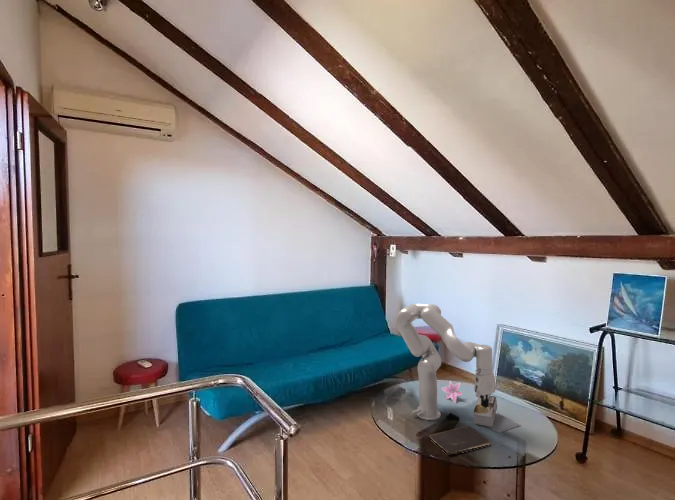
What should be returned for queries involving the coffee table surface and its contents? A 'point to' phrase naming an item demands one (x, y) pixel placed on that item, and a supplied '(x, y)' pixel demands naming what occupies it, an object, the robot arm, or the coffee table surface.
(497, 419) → the slate mat
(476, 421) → the coffee box
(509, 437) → the coffee table surface
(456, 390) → the lily
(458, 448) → the hardcover book
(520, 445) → the coffee table surface
